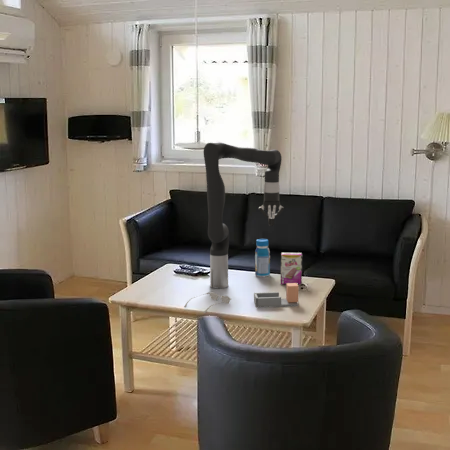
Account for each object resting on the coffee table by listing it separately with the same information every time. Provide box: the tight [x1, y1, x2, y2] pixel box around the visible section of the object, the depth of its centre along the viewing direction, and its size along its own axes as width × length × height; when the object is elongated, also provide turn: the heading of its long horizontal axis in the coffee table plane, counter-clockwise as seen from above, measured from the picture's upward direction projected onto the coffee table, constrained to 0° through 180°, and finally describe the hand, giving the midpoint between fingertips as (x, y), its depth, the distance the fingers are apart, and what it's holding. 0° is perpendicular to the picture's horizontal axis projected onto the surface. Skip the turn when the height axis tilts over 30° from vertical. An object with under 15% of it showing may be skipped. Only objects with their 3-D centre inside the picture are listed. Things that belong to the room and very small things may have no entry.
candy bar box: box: [280, 252, 303, 285], centre depth 353 cm, size 11×5×16 cm, turn 84°
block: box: [285, 283, 300, 303], centre depth 321 cm, size 5×5×8 cm
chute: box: [253, 291, 299, 309], centre depth 321 cm, size 20×9×4 cm, turn 94°
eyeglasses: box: [183, 291, 232, 314], centre depth 320 cm, size 15×18×4 cm
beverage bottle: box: [254, 238, 271, 278], centre depth 369 cm, size 8×8×20 cm
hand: (271, 225), depth 331 cm, fingers closed
